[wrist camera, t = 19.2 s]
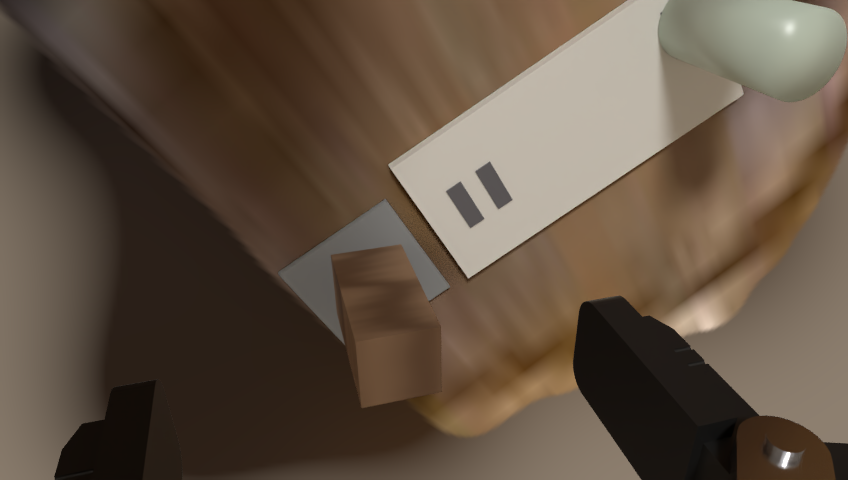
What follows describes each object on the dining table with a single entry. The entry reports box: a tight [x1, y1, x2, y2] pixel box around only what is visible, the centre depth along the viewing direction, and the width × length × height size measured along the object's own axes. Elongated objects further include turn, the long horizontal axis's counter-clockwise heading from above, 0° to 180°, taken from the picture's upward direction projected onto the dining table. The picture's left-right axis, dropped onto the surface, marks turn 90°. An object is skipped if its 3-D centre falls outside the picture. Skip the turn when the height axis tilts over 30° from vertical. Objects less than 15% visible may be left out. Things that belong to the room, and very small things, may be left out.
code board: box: [388, 0, 744, 278], centre depth 45 cm, size 11×24×1 cm, turn 121°
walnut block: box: [331, 244, 442, 408], centre depth 43 cm, size 5×5×10 cm
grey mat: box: [278, 199, 450, 345], centre depth 47 cm, size 9×9×1 cm
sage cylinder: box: [658, 0, 847, 102], centre depth 39 cm, size 5×5×10 cm
